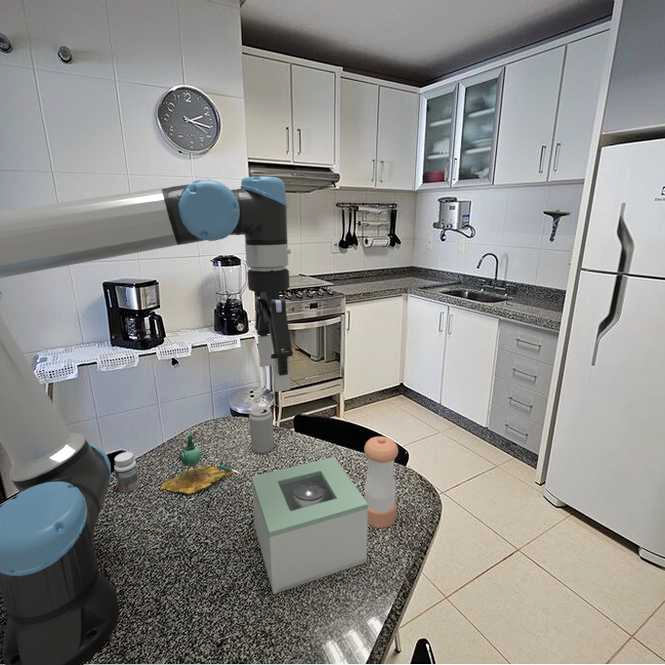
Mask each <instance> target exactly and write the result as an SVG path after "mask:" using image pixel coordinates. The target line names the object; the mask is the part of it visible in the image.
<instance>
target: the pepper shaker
mask: <svg viewBox="0 0 665 665" xmlns="http://www.w3.org/2000/svg"><path fill="white" fill-rule="evenodd" d="M363 449H364V450H363V451H364V454H365V455H366V457H367V473H366V477H365V478H366V479H365V483H364V497H363V498H364V499H365V501H366V502H367V504H368V520H367V525H369V526H371V527H374V528H377V529H384V528H385V529H386V528H388V527H391V526H393V524H394V523H395V522H396V520H397V508H398V503H397V500H396V494H397V493H396V491H397V489H396V488H397V486H396V481H395V475H394V474H395V473H394V472H395V459H396V458H397V457H398V454H399V448H398V444H397V443H396V442H395V441H394V440H393V439H391V438H390V437H386V436H374V437H371V438H369V439H368V440H367V441H366V442H365V444H364V448H363Z"/></svg>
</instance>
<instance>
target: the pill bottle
mask: <svg viewBox="0 0 665 665" xmlns="http://www.w3.org/2000/svg"><path fill="white" fill-rule="evenodd" d="M114 464H115V465H114V467H113V468H114V473H115V474H114V475H115V481H116V484H117V490H118V491H119V492H122V493H127V492H128V493H129V492H131V491H134V490H136V489H137V488H138V487H139V485H140V478H139V473H138V467H137V461H136V460H135V456H134V454H133V452H131V451H125V452H121V453H119V454H117V455H116V456H115V457H114Z"/></svg>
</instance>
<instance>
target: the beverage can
mask: <svg viewBox="0 0 665 665" xmlns="http://www.w3.org/2000/svg"><path fill="white" fill-rule="evenodd" d="M248 421H249V431H250V432H249V434H250V443H251V444H250V445H251V450H252V451H253V452H255V453H257V454H267V453H269V452H271V451H272V450H273V449H274V448H275V434H274V431H275V430H274V418H273V412H272V409H271V408H270V407H268V406H264V405H260V406H256V407H253V408H251V409H250V411H249V414H248Z"/></svg>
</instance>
